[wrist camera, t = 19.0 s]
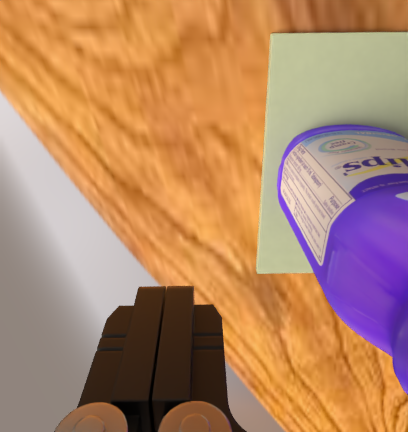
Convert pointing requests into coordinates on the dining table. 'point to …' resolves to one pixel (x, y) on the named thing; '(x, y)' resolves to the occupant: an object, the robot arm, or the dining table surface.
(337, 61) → the mat
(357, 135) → the bottle
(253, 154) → the dining table surface
